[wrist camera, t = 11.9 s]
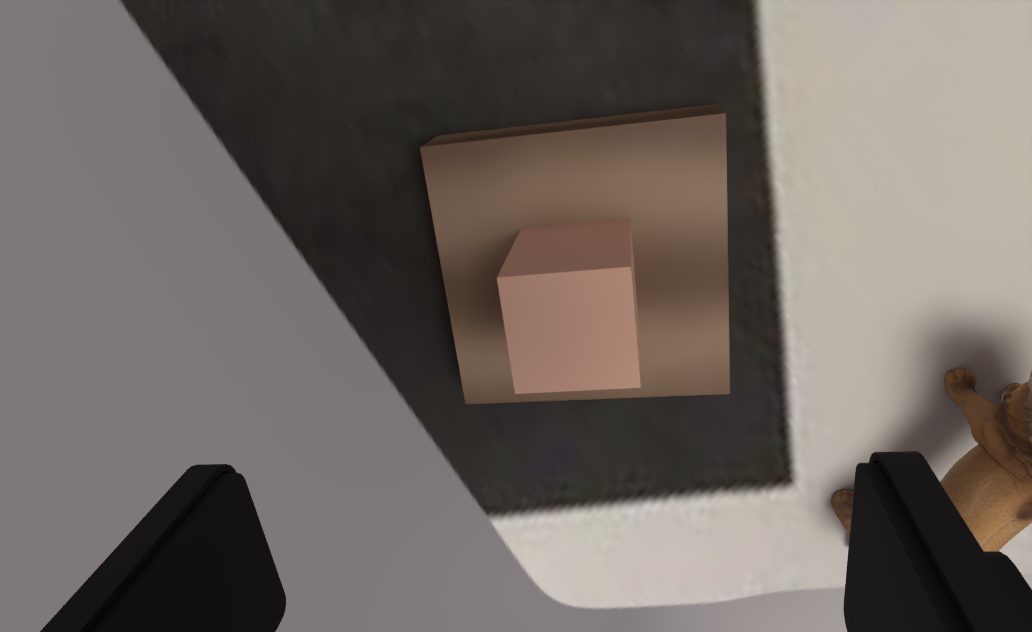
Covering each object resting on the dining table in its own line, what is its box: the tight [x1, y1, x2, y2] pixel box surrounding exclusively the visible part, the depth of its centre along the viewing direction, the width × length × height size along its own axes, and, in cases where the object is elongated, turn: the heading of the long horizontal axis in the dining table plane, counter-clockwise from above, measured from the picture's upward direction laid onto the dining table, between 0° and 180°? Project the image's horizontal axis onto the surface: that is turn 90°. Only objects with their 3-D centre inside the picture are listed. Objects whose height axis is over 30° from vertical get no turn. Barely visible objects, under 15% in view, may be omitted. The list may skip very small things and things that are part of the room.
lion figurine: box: [832, 369, 1032, 551], centre depth 29 cm, size 15×5×9 cm, turn 161°
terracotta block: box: [497, 218, 641, 394], centre depth 27 cm, size 4×4×6 cm
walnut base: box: [420, 104, 730, 404], centre depth 31 cm, size 12×12×3 cm
